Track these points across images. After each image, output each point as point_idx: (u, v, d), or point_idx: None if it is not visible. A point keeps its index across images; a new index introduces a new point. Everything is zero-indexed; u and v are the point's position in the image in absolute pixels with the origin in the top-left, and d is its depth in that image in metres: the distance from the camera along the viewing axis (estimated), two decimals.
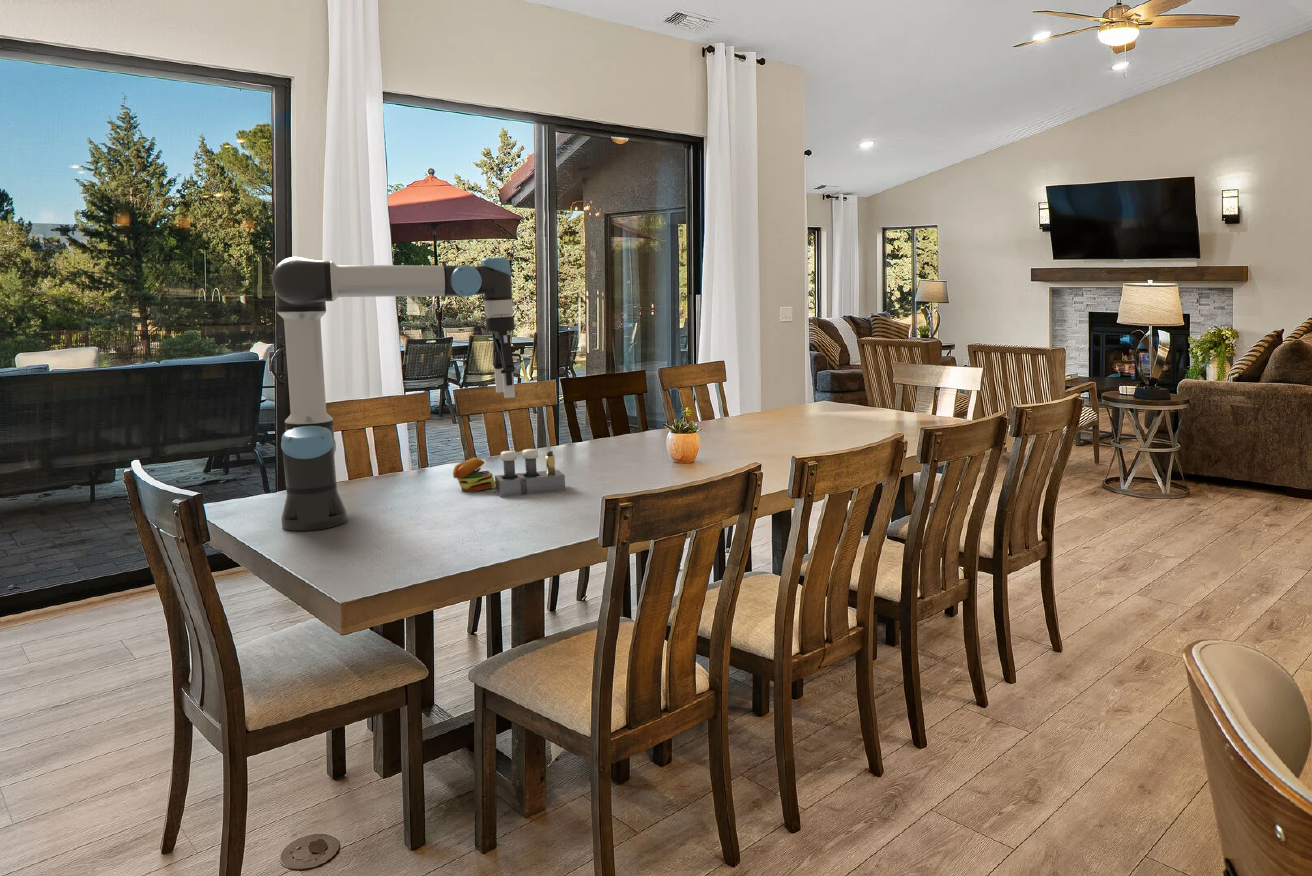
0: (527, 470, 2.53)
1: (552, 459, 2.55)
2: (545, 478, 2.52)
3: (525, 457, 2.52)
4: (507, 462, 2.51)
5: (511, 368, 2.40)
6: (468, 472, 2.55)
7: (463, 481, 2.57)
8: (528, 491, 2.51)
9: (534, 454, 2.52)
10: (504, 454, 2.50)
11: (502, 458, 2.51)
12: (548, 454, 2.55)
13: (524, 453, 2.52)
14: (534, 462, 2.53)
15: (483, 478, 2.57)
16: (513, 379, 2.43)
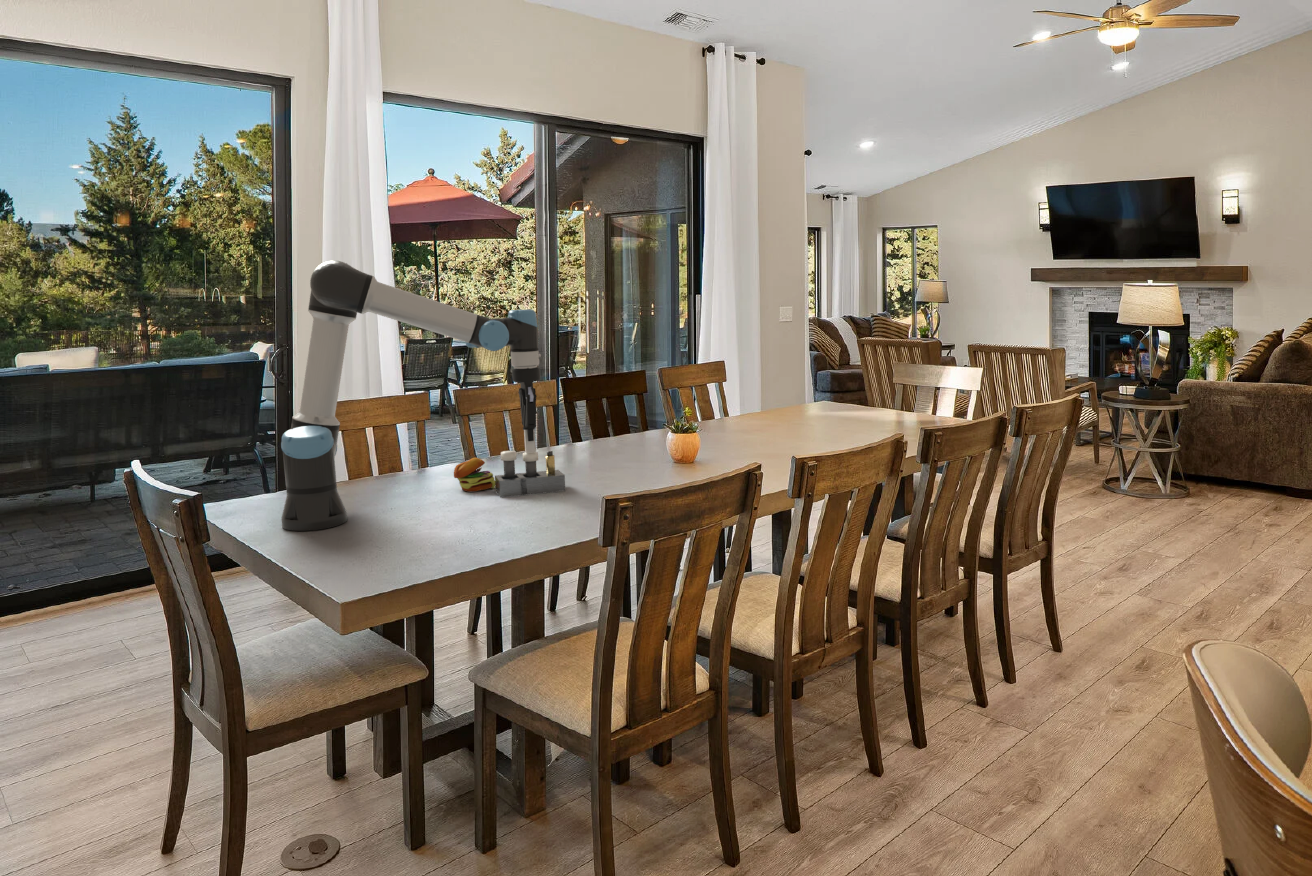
0: (527, 473, 2.54)
1: (552, 459, 2.55)
2: (545, 478, 2.52)
3: (525, 460, 2.52)
4: (507, 462, 2.51)
5: (533, 426, 2.49)
6: (469, 472, 2.55)
7: (463, 481, 2.57)
8: (528, 491, 2.51)
9: (534, 457, 2.53)
10: (504, 454, 2.50)
11: (502, 458, 2.51)
12: (548, 454, 2.55)
13: (524, 456, 2.52)
14: (534, 465, 2.54)
15: (484, 478, 2.57)
16: (534, 435, 2.53)
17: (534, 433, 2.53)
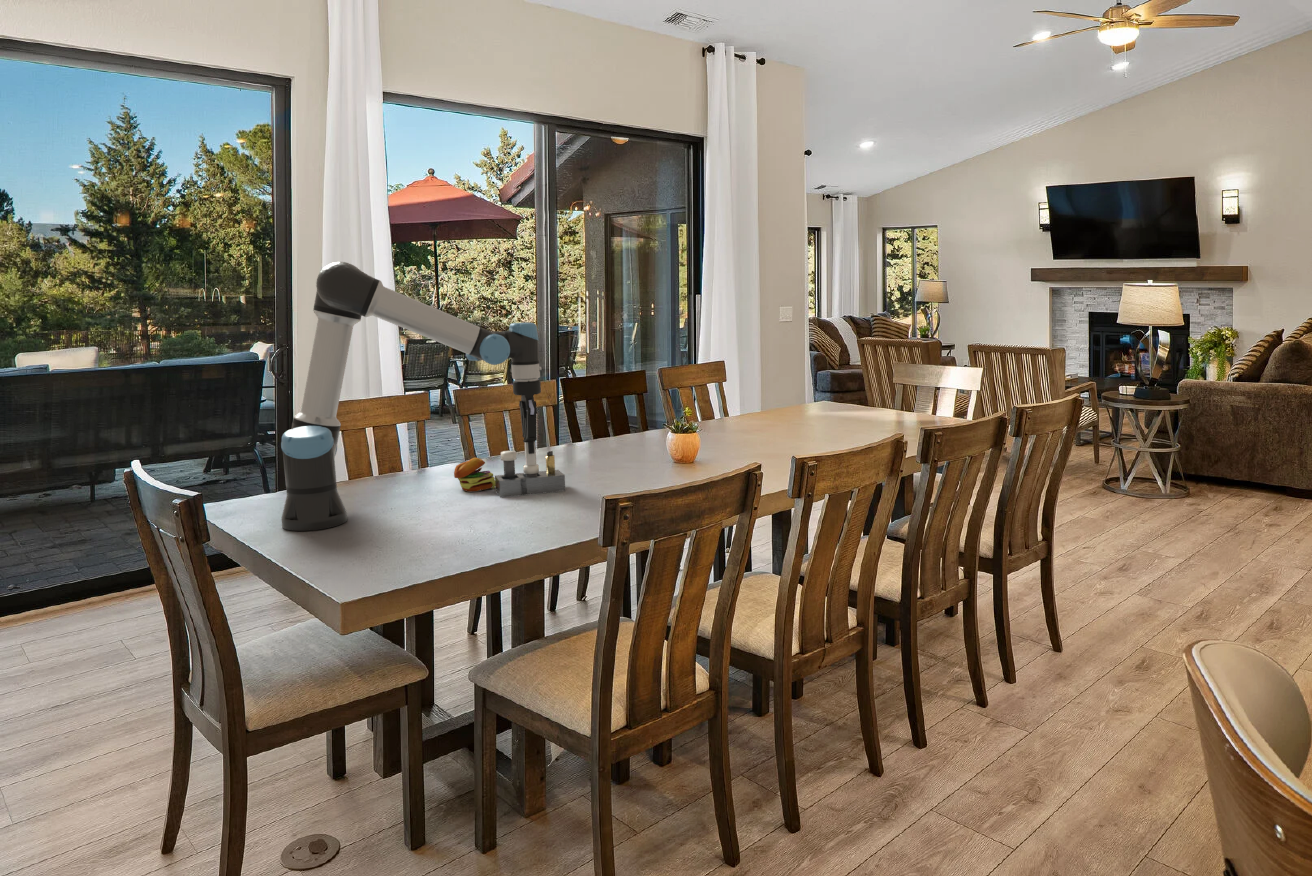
0: None
1: (552, 459, 2.55)
2: (545, 478, 2.52)
3: (526, 472, 2.53)
4: (507, 462, 2.51)
5: (533, 439, 2.50)
6: (469, 472, 2.55)
7: (463, 481, 2.57)
8: (528, 491, 2.51)
9: (535, 469, 2.53)
10: (504, 454, 2.50)
11: (502, 458, 2.51)
12: (548, 454, 2.55)
13: (525, 468, 2.53)
14: None
15: (484, 478, 2.57)
16: (535, 447, 2.53)
17: (535, 446, 2.53)
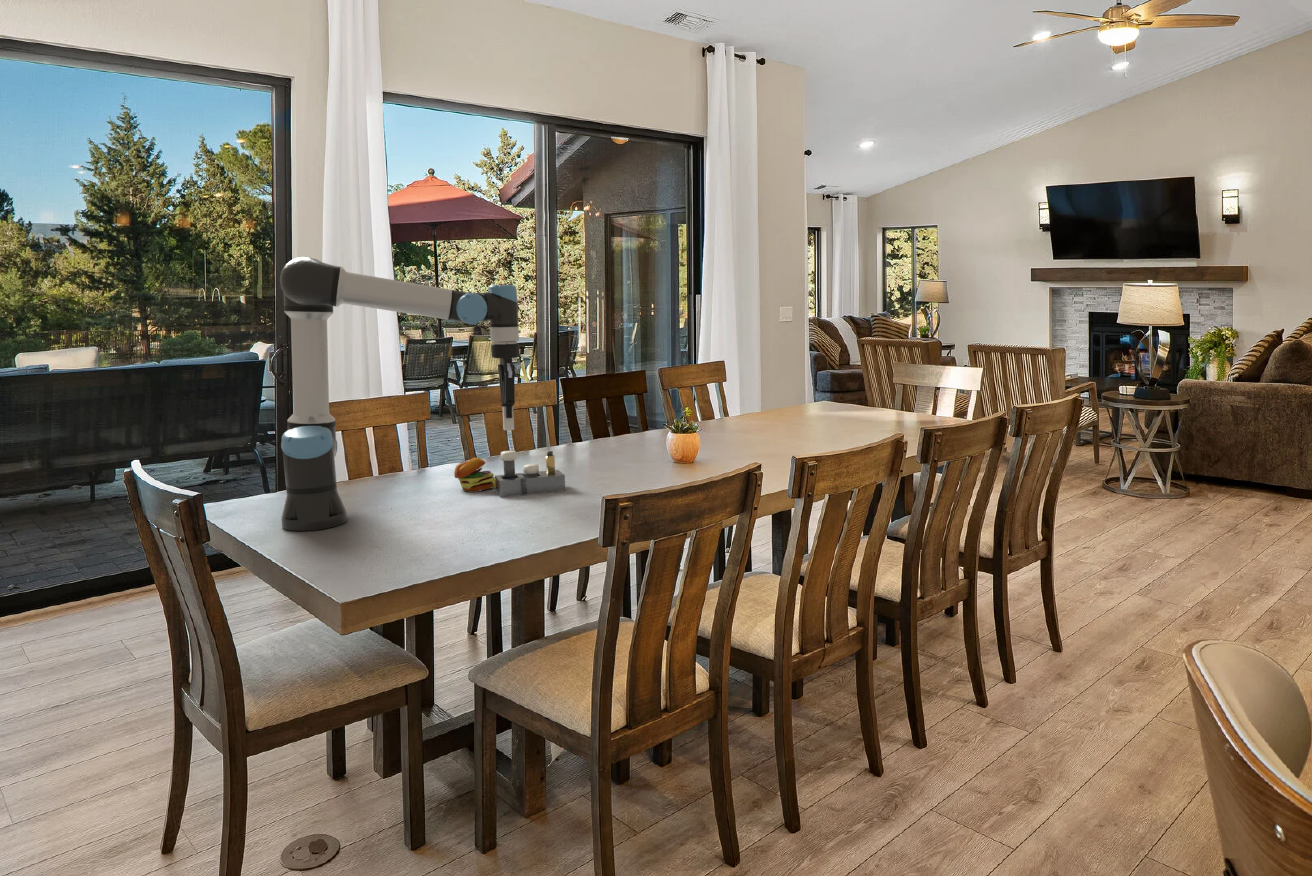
0: None
1: (552, 459, 2.55)
2: (545, 478, 2.52)
3: (526, 472, 2.53)
4: (507, 462, 2.51)
5: (511, 403, 2.47)
6: (469, 472, 2.55)
7: (464, 481, 2.57)
8: (528, 491, 2.51)
9: (535, 469, 2.53)
10: (504, 454, 2.50)
11: (502, 458, 2.51)
12: (548, 454, 2.55)
13: (525, 468, 2.53)
14: None
15: (484, 478, 2.57)
16: (513, 412, 2.50)
17: None
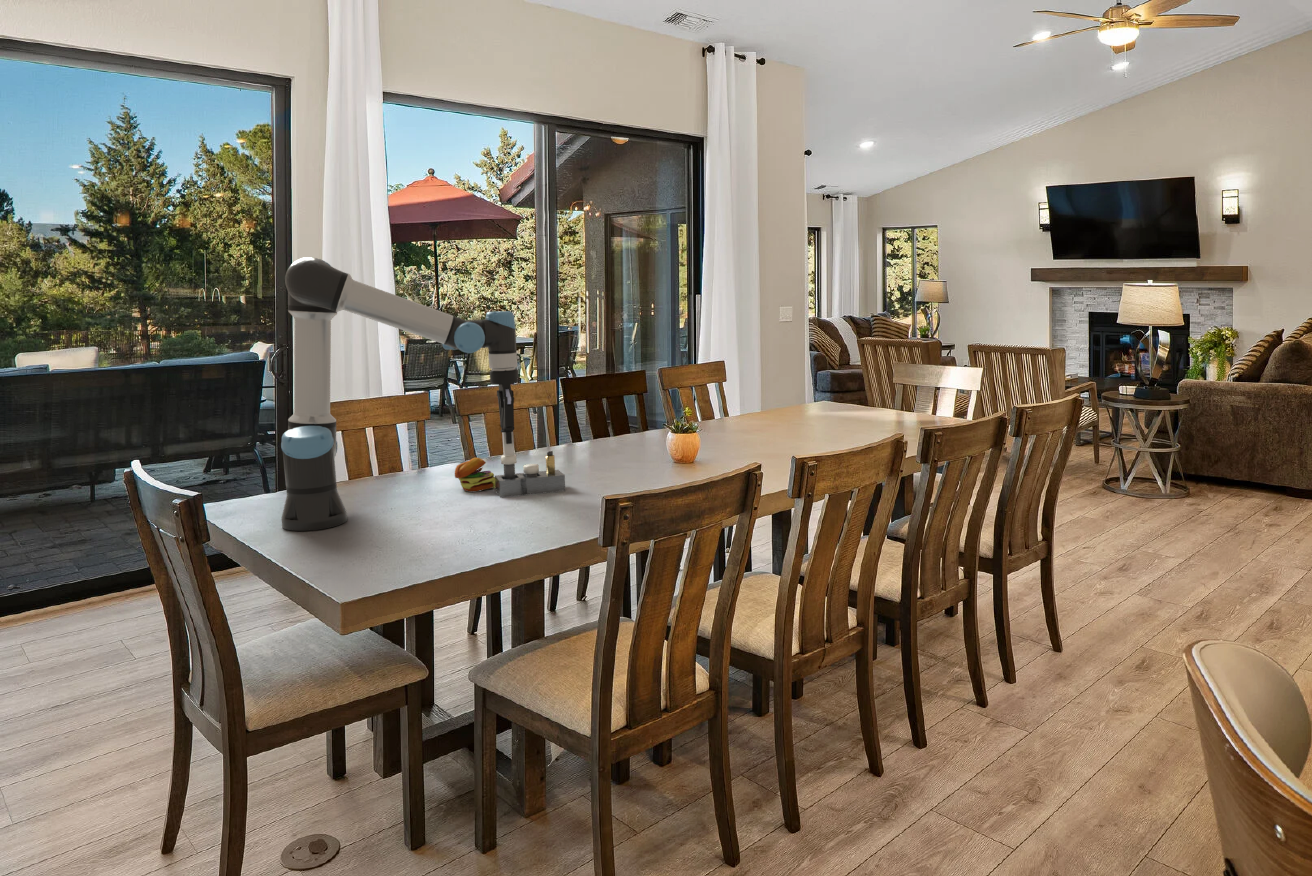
0: None
1: (552, 459, 2.55)
2: (545, 478, 2.52)
3: (526, 472, 2.53)
4: (507, 466, 2.51)
5: (511, 429, 2.48)
6: (469, 472, 2.55)
7: (464, 481, 2.57)
8: (528, 491, 2.51)
9: (535, 469, 2.53)
10: (504, 458, 2.50)
11: (502, 462, 2.51)
12: (548, 454, 2.55)
13: (525, 468, 2.53)
14: None
15: (484, 478, 2.57)
16: None
17: (512, 436, 2.51)
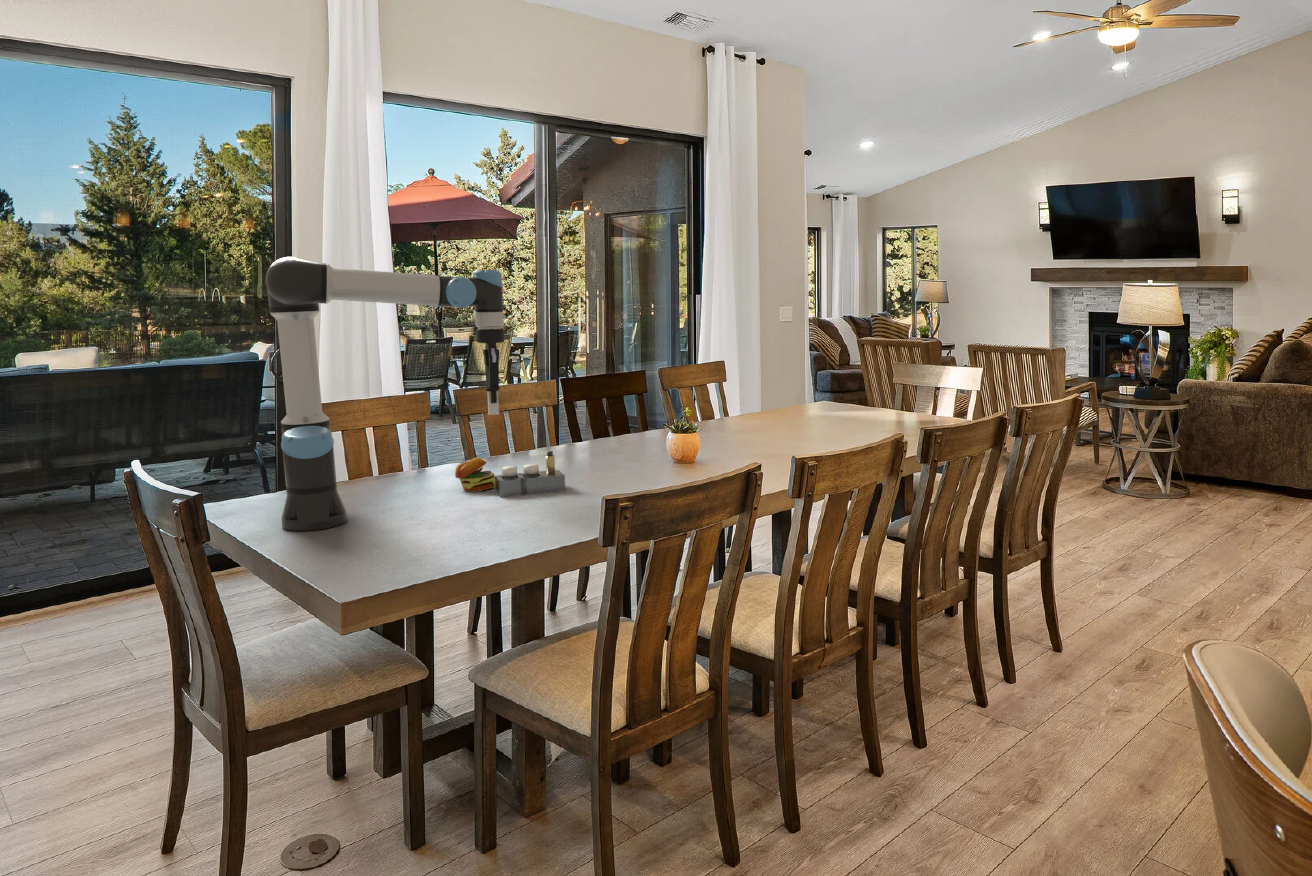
0: None
1: (552, 459, 2.55)
2: (545, 478, 2.52)
3: (526, 472, 2.53)
4: (508, 477, 2.52)
5: (496, 388, 2.48)
6: (470, 472, 2.55)
7: (465, 481, 2.57)
8: (528, 491, 2.51)
9: (535, 469, 2.53)
10: (505, 469, 2.51)
11: (503, 473, 2.51)
12: (548, 454, 2.55)
13: (525, 468, 2.53)
14: None
15: (485, 478, 2.57)
16: None
17: (497, 395, 2.52)
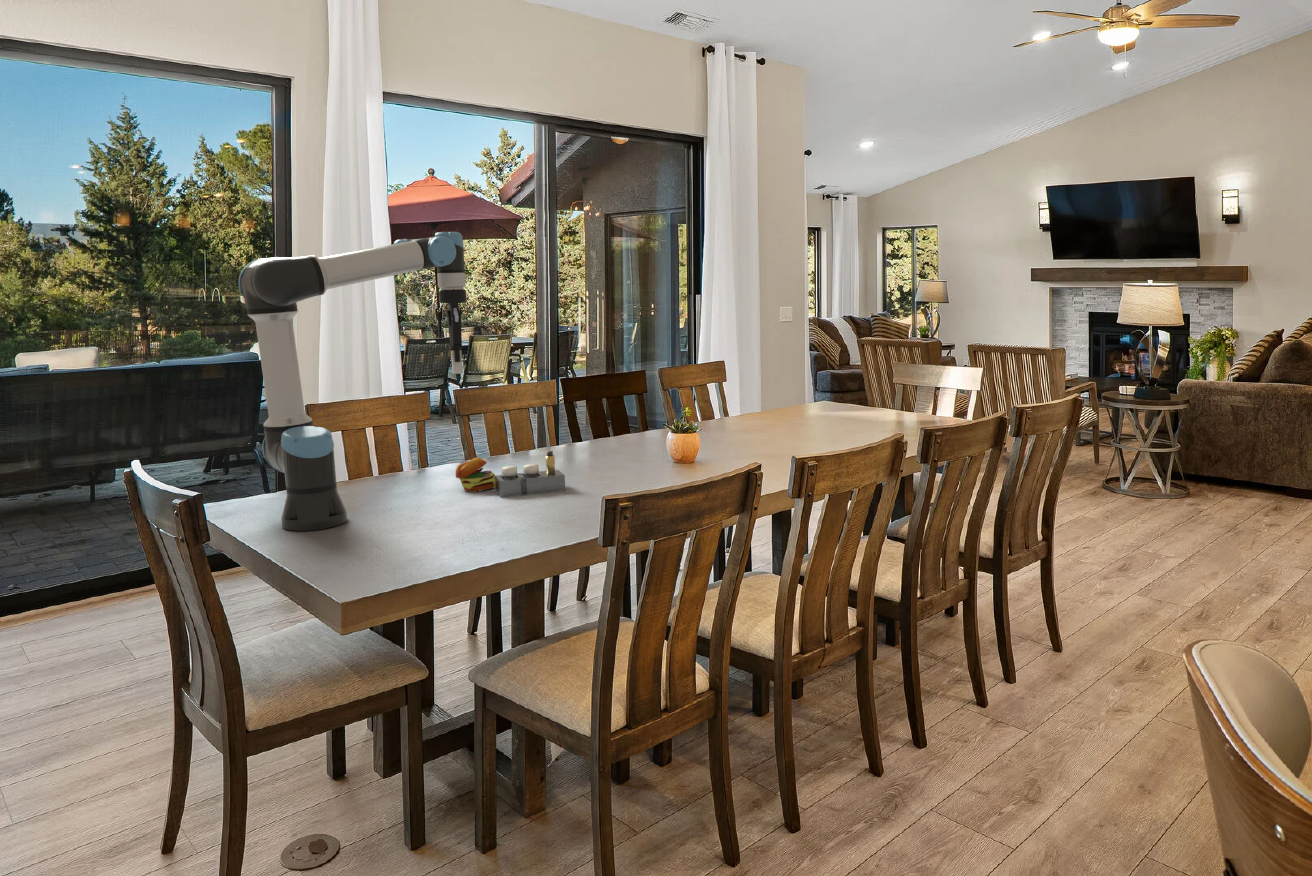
0: None
1: (552, 459, 2.55)
2: (545, 478, 2.52)
3: (526, 472, 2.53)
4: (508, 477, 2.52)
5: (459, 347, 2.56)
6: (470, 472, 2.55)
7: (465, 481, 2.57)
8: (528, 491, 2.51)
9: (535, 469, 2.53)
10: (505, 469, 2.51)
11: (503, 473, 2.51)
12: (548, 454, 2.55)
13: (525, 468, 2.53)
14: None
15: (485, 478, 2.57)
16: (461, 356, 2.59)
17: (461, 354, 2.59)
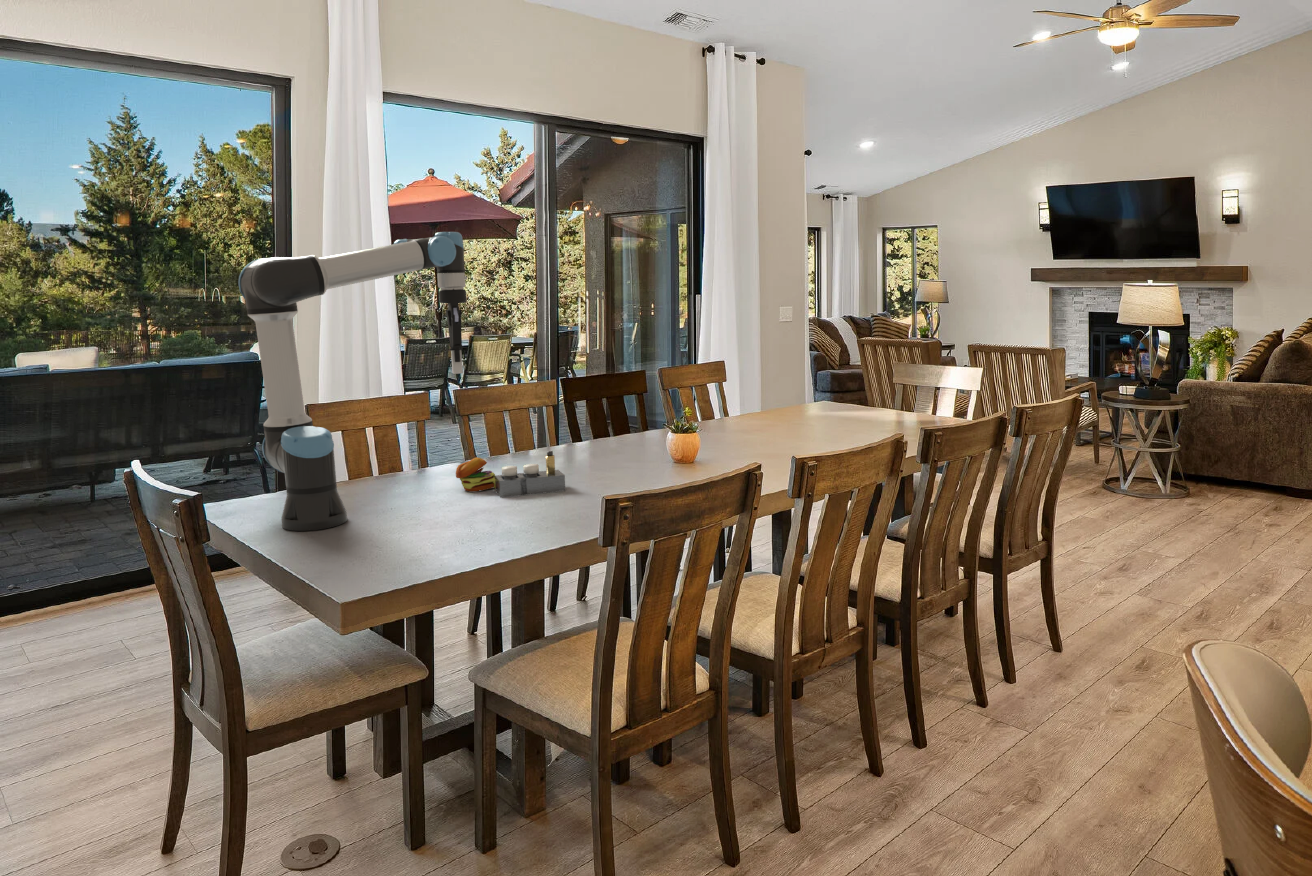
0: None
1: (552, 459, 2.55)
2: (545, 478, 2.52)
3: (526, 472, 2.53)
4: (508, 477, 2.52)
5: (459, 347, 2.56)
6: (471, 472, 2.55)
7: (465, 481, 2.57)
8: (528, 491, 2.51)
9: (535, 469, 2.53)
10: (505, 469, 2.51)
11: (503, 473, 2.51)
12: (548, 454, 2.55)
13: (525, 468, 2.53)
14: None
15: (486, 478, 2.57)
16: (461, 356, 2.59)
17: (461, 354, 2.59)
